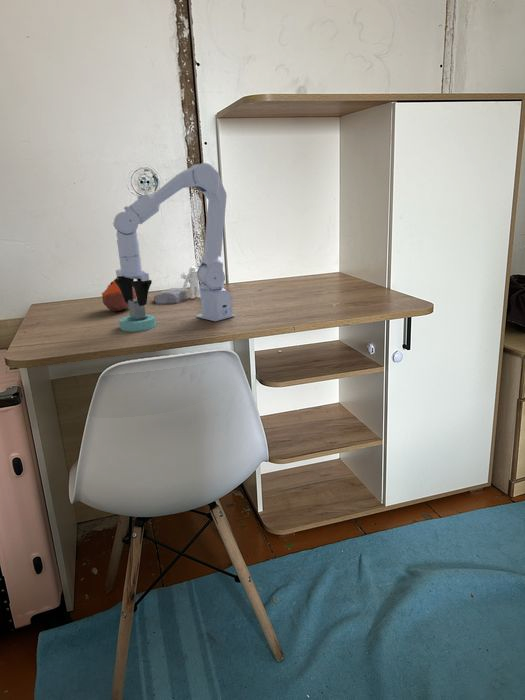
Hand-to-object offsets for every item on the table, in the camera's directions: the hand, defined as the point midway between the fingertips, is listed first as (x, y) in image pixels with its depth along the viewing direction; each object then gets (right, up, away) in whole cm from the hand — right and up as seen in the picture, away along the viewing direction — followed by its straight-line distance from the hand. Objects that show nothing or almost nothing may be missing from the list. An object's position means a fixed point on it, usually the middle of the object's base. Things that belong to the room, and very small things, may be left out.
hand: (135, 303), depth 155 cm
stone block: (+4, +4, +37) cm, 37 cm away
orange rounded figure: (-10, 0, +24) cm, 26 cm away
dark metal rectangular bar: (+1, -7, +2) cm, 7 cm away
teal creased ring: (0, -7, +2) cm, 7 cm away
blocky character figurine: (+13, +5, +38) cm, 40 cm away
